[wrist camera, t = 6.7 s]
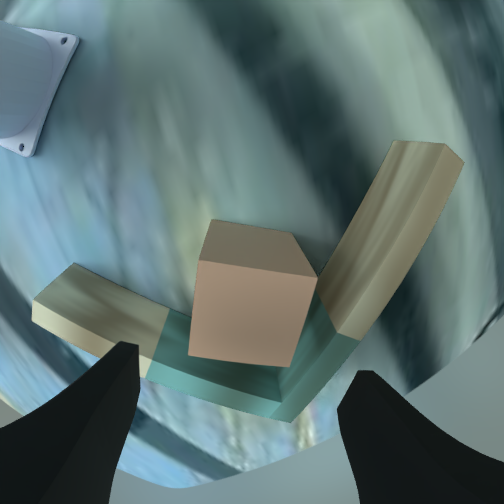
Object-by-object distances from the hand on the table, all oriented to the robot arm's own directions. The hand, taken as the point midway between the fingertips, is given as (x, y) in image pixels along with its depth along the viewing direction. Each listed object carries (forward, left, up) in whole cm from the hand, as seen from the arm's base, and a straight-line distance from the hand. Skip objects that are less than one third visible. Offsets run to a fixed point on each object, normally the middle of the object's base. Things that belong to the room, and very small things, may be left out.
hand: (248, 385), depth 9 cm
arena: (-2, +3, -9) cm, 10 cm away
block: (0, 0, -9) cm, 9 cm away
